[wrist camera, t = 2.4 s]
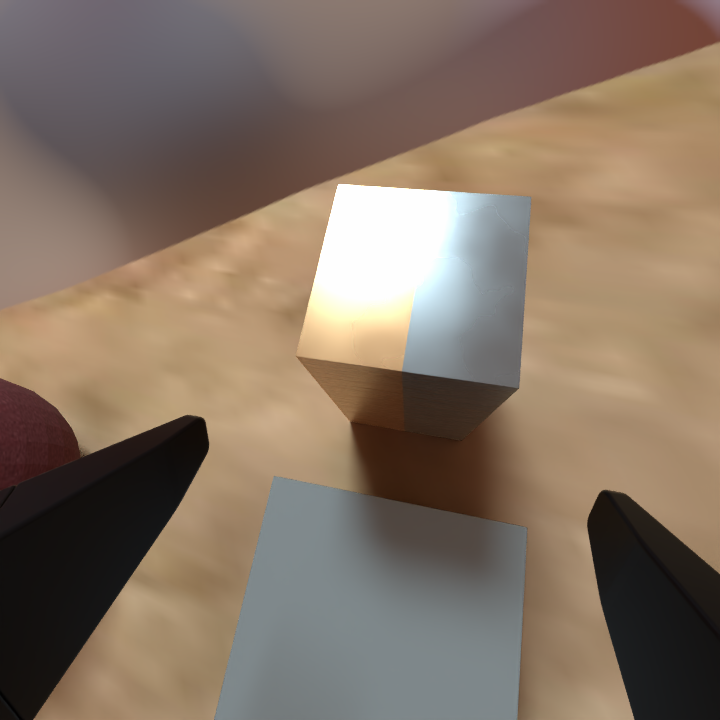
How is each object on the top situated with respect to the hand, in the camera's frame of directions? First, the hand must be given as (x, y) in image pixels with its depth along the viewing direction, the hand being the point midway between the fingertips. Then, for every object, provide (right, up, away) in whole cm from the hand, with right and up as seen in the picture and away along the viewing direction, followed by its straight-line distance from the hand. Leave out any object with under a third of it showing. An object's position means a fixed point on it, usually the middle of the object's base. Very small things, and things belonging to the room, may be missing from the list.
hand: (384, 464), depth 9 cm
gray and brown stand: (0, -10, +9) cm, 14 cm away
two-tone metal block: (+2, +1, +13) cm, 13 cm away
